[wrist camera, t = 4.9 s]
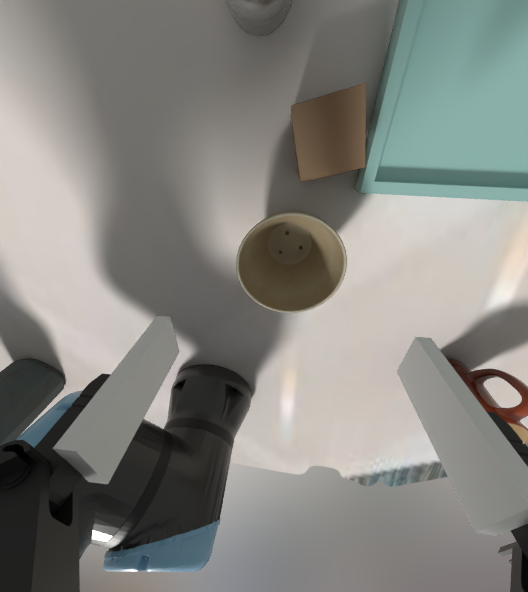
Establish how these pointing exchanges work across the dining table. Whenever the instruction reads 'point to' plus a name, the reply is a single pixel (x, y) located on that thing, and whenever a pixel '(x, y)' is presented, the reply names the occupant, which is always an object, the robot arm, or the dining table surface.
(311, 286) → the flower pot
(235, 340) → the dining table surface
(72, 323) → the dining table surface
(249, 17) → the grey tin
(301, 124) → the walnut block
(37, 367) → the bottle
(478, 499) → the robot arm
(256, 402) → the dining table surface
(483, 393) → the mug
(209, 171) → the dining table surface
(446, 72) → the tray
